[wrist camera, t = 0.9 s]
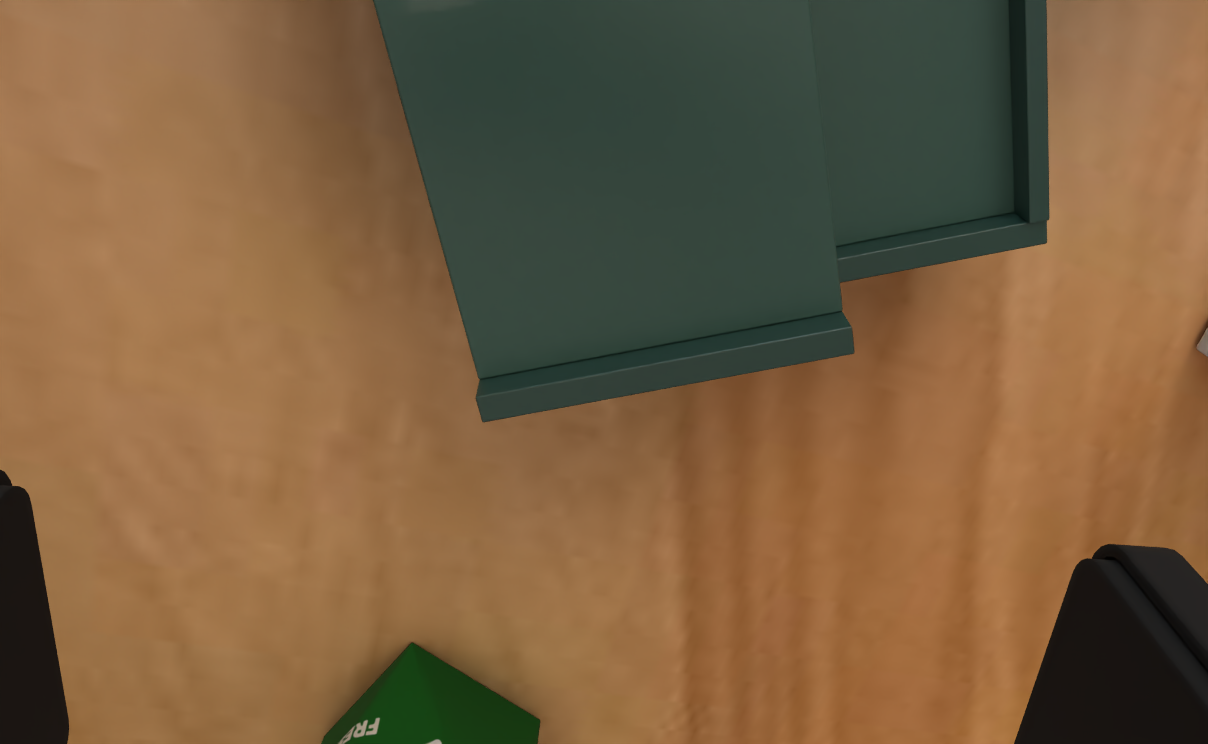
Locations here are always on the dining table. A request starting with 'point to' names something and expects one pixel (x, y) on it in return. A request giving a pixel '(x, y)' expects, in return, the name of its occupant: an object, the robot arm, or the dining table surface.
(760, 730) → the dining table surface
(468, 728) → the milk carton
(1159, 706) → the robot arm
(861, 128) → the step rack
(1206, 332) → the small box
